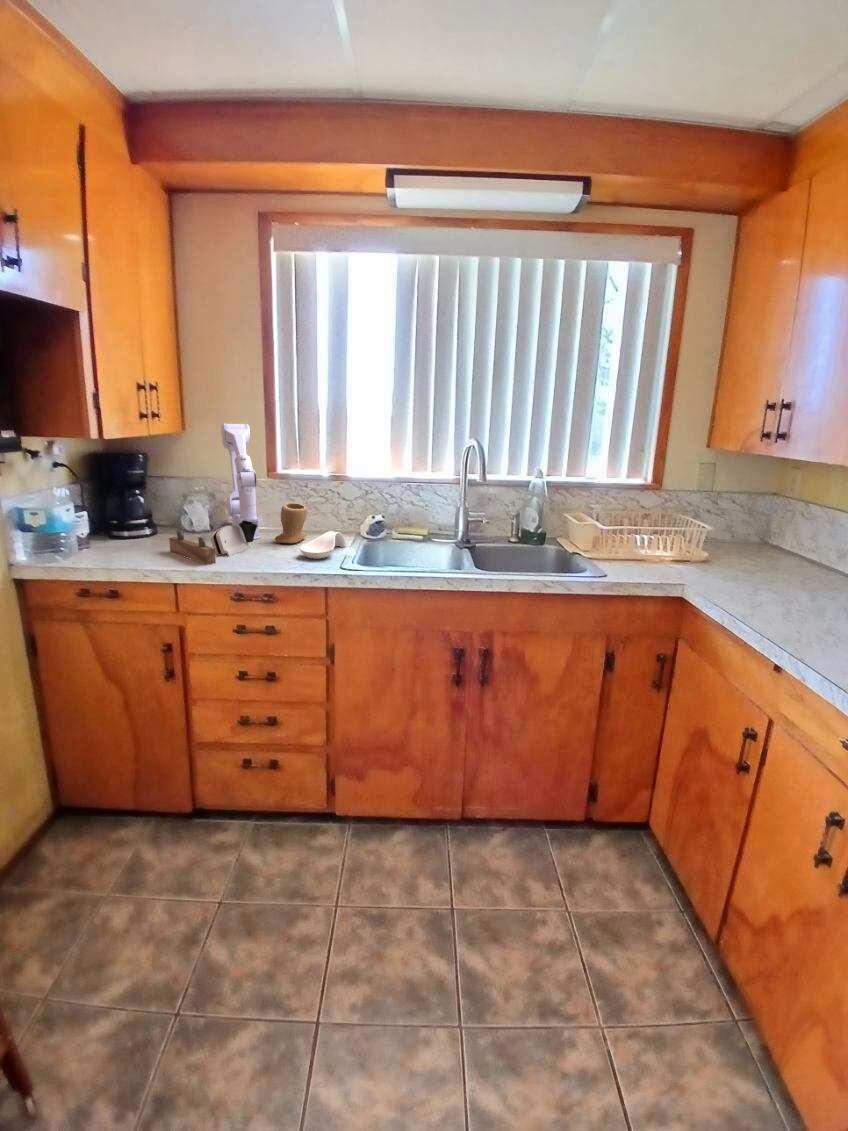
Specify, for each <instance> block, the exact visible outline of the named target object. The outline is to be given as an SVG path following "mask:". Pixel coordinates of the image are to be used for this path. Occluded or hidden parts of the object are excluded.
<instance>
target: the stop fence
mask: <svg viewBox="0 0 848 1131" xmlns="http://www.w3.org/2000/svg"><path fill="white" fill-rule="evenodd" d="M168 539H169V540H168V542H169V551H170V553H172V552H173V554H175V553H176V555H178V554H179V555H178V556H181V555H182V556H181V557H183V556H185V558H186V557H188V558H187V559H189V558H191V559H190V560H192V559H194V560H193V561H195V560H196V561H195V562H198V561H199V562H198V563H200V562H202V563H201V564H203V563H204V565H206V564H209V565H214V564H217V562H216V555H215V548H213V546H212V547H211V546H208V545H206V537H204V536H199V537H198V542H196V541H192V540H190V539H186V538H184V531H183V530H176V536H173V537H169V538H168ZM213 563H214V564H213Z"/></svg>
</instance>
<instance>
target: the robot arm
mask: <svg viewBox="0 0 848 1131" xmlns="http://www.w3.org/2000/svg"><path fill="white" fill-rule="evenodd" d="M220 429H221V430H220V431H221V439H222V440H221V441H222V445H223V447H224V448H225V449H227V450H228V453H229V460H230V466H231V476H232V477H231V478H232V486H233V491H232V492H231V493H230V494H228V496H227V497H226V498H227V499H226V500H227V503H226V506H227V507H226V508H227V514H228V515H229V517H231V522H232V525H234V526H238V527H239V528H240V530H241V532H242V534H243V537H244V539H245V540H246V542H249V543H253V542H254V540H256V539H261V536H260V526H263V525H264V522H263V519H262V518H260V517H259V516H257V497H256V495H257V494H256V493H257V492H256V488H257V486H258V485H257V484H258V477H257V473H256V470H255V469H253V468H254V467H253V463H252V458H251V456H249V455H248V454H247V448H248V446H249V442H250V439H251V431H250V429H251V428H250V425H249V424H248V423H225V422H223V423H222V424H221V427H220Z"/></svg>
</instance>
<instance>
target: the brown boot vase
mask: <svg viewBox="0 0 848 1131" xmlns="http://www.w3.org/2000/svg"><path fill="white" fill-rule="evenodd" d="M307 511H308V508H307V507H306V505H304V504H302V503H298V502H286V503H284V504H283V505H282V507H281V510H280V522H281V527H282V532H281V533H280V534H278V535H277V536H276V537H274V541H275V542H277V543H283V544H295V543H298V542H301V541H302V540H304V538H306V537H307V536H308V534H307V532H304V531H303V527H304V525H305V522H306V518H307V515H308V514H307V513H308V512H307Z"/></svg>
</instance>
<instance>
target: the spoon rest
mask: <svg viewBox="0 0 848 1131" xmlns="http://www.w3.org/2000/svg"><path fill="white" fill-rule="evenodd" d="M336 546H340V547H339V548H346V547H347V543H346V539H345V537H344V535H343V534H342V533H341V532H339V531H336V532H335V531H333V530H330V531H327V532H325V533H323V534H321V535H319V536H317V537H316V538H314V539H312V540H310V541H308V542H305V543H304V544H302V545H301V546H300V547H299V550H300V552H301V554H303V555H304V556H305V557H307V558H309V559H312V558H313V560H322V559H321V558H323V559H326V558H328V557H329V556H330V555H331V554H332V553H333V551H334V549H335V547H336ZM325 557H326V558H325Z"/></svg>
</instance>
